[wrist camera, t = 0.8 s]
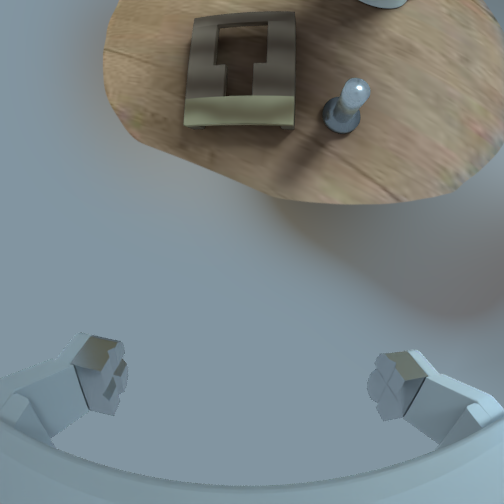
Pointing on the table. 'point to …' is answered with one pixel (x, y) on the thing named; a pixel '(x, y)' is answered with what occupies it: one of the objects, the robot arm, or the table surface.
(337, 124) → the footed peg
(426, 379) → the robot arm
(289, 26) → the keyhole plate
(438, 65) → the table surface
